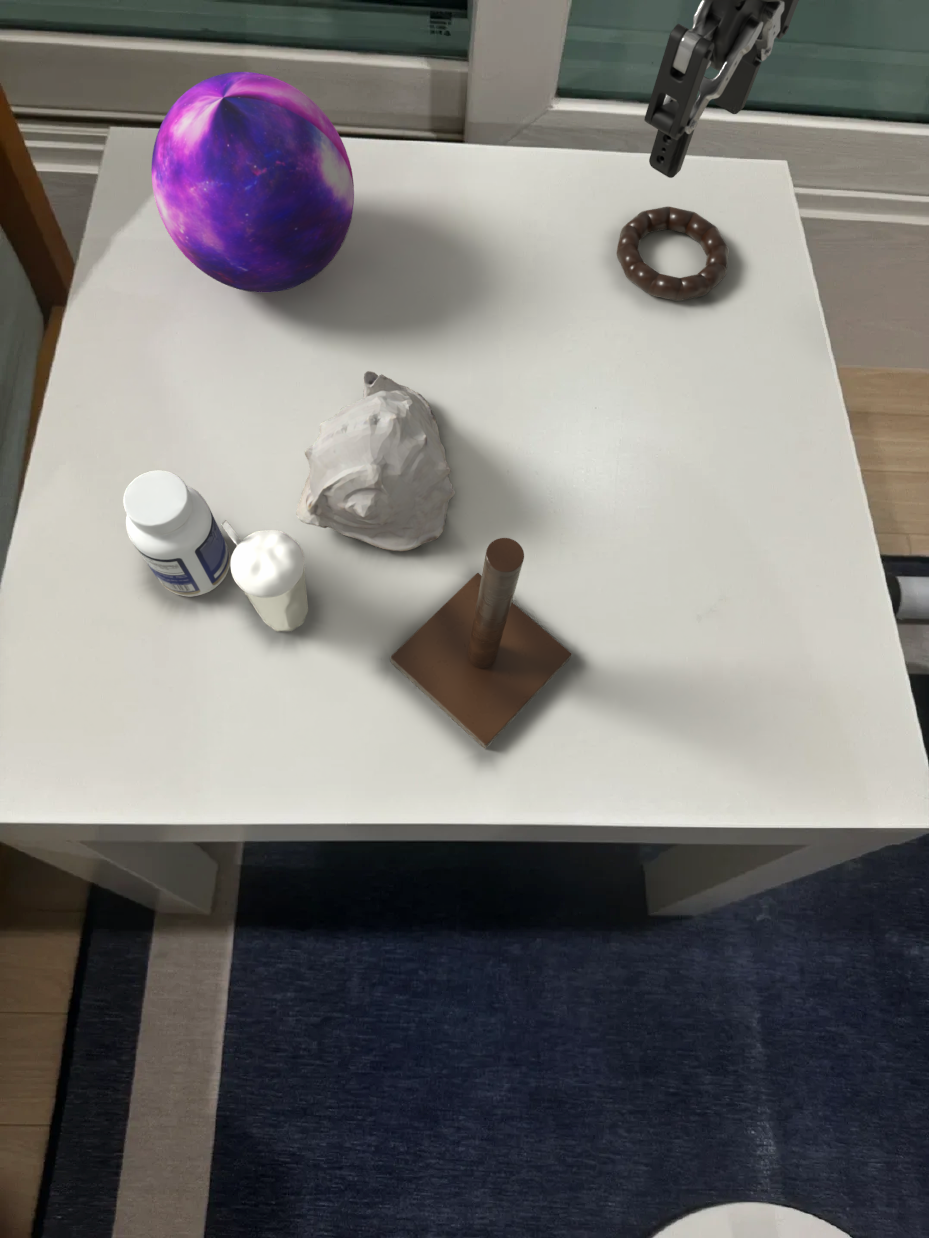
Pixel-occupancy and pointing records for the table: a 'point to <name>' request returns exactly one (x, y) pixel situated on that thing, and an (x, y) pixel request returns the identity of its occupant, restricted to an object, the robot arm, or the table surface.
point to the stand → (483, 650)
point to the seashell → (379, 470)
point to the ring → (665, 283)
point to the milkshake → (271, 576)
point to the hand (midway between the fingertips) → (696, 137)
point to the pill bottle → (175, 533)
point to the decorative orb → (252, 182)
